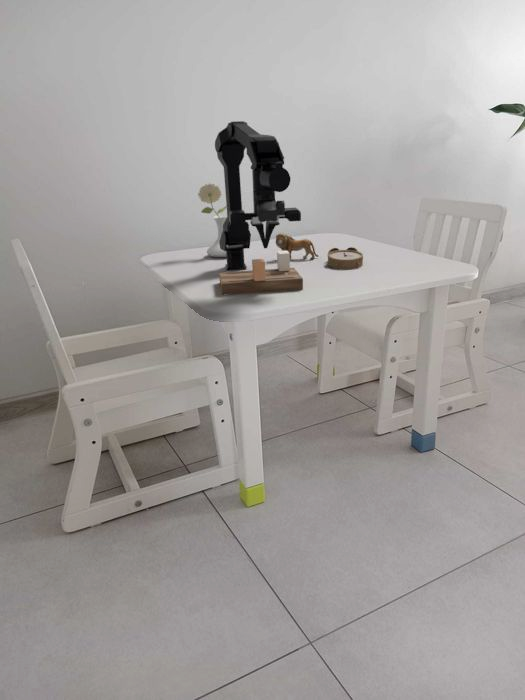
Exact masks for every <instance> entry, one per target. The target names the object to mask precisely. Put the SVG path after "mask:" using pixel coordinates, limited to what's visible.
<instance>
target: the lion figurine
mask: <svg viewBox="0 0 525 700" xmlns="http://www.w3.org/2000/svg"><path fill="white" fill-rule="evenodd" d="M275 245H276V247H278V248H279V249H281V251H288V252H289V253H290V261H291V259H292V252H298V251H301V250H303V249H304V250H305V251H304V252H305V255H303V256H302V258H303V259H306V258H308V257H309V255H311V257H310V260H315V257H316V258H318V257H319V255H318V254H317V253H316V250H315V246H314V244H313V242H312V240H310V239H307V238H303V239H295V238H293V237H292V236H289V235H288V234H286V233H283V232H282V233H281V232H280V233H278V234H277V235H275Z"/></svg>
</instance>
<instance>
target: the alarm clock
mask: <svg viewBox="0 0 525 700" xmlns="http://www.w3.org/2000/svg"><path fill="white" fill-rule="evenodd" d="M363 259H364V253H363V252H360V251H359V250H358V249H357V248H356V247H347V249H339V248H337V247H333V248H330V249H329V250H328V252H327V266H328V267H330V268H332V267H333V269H343V270H348V269H349V268H350V269H357V268H361V267H363V264H364V263H363V262H364V261H363Z"/></svg>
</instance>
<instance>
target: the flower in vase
mask: <svg viewBox="0 0 525 700" xmlns="http://www.w3.org/2000/svg"><path fill="white" fill-rule="evenodd" d="M197 194H198V195H197V196H198V197H199V198H198V199H200V202H203V203H207V204H211V207H209V206H206V207H204V208H203V209H202V210H201V213H203V214H211V213H212V212H213V211H214V213H215V216H213V217H212V218H213V219H214V221H215V223H216V225H217V227H216V228H217V239H216V240H215V241H214V242H213V243H212V244H211V245H210V246H208V248H207V250H206V254H207V255H208V256H211V257H215V258H225V257H226V251H223V250H221V249H220V244H219V242H220V238H221V235H222V232H223V224H224V222H225V220H226V218H227V215H219V214H220V213H222V212H224V211H226V210H227V205H225V206H224V207H222V208H219V209H218V210H217V211H216V210H215V209H214V206H213V203H216V202H218V201H219V200H220V198H221V196H222V191H221V189H220V187H219V185H215V184H214V183H208V184H207V183H206V184H204V185H202V186H201V187H200V188H199V192H198V193H197Z"/></svg>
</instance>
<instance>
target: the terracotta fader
mask: <svg viewBox="0 0 525 700" xmlns="http://www.w3.org/2000/svg"><path fill="white" fill-rule="evenodd" d="M251 262H252V263H251V264H252V265H251V266H252V268H251V269H252V270H253V279H254V281H264V280H266V277H265V270H266V262H265V260H264V258H254V259H252V260H251Z"/></svg>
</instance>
